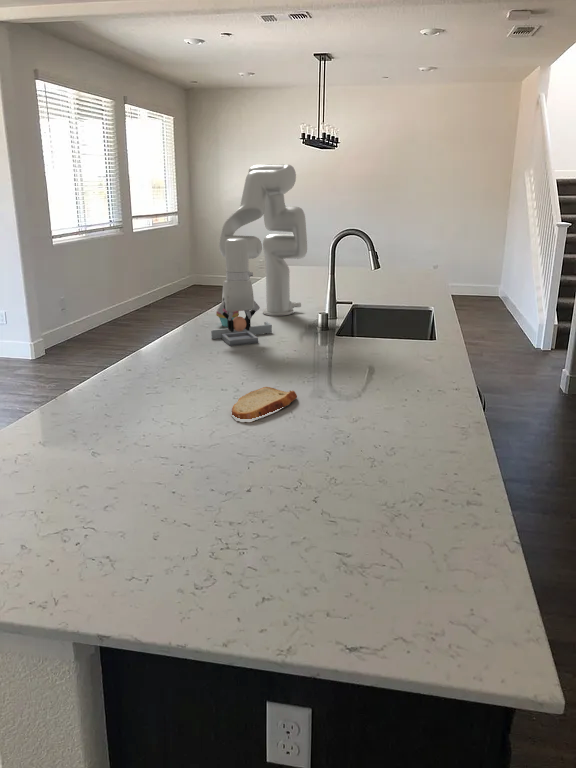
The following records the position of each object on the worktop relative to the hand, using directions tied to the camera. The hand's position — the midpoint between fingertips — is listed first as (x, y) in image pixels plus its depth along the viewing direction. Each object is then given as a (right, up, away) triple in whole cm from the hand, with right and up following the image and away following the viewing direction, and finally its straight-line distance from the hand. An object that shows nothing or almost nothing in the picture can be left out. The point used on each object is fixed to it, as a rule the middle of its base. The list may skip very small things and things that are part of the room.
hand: (239, 329), depth 217 cm
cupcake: (-6, +4, +25) cm, 26 cm away
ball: (0, 0, 0) cm, 0 cm away
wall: (-1, -1, +11) cm, 11 cm away
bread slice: (+11, -25, -61) cm, 66 cm away
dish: (0, -4, +1) cm, 4 cm away
